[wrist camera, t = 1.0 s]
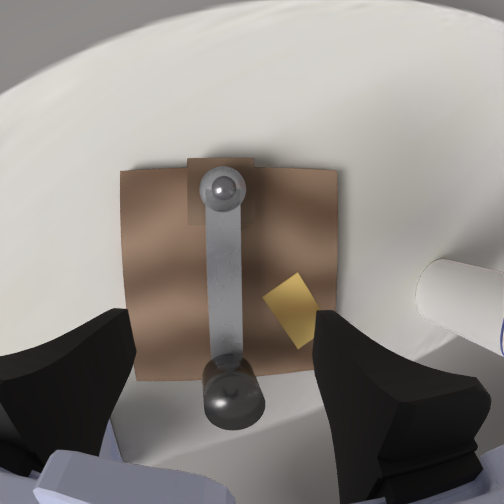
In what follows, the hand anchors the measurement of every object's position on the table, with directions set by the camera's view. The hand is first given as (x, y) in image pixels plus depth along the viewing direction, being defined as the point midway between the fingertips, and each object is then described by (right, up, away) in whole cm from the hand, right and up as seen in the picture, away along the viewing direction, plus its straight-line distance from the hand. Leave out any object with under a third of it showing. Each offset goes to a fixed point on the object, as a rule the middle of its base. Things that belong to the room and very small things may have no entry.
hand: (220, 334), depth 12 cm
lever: (-1, 0, +12) cm, 12 cm away
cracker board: (-1, +1, +16) cm, 16 cm away
